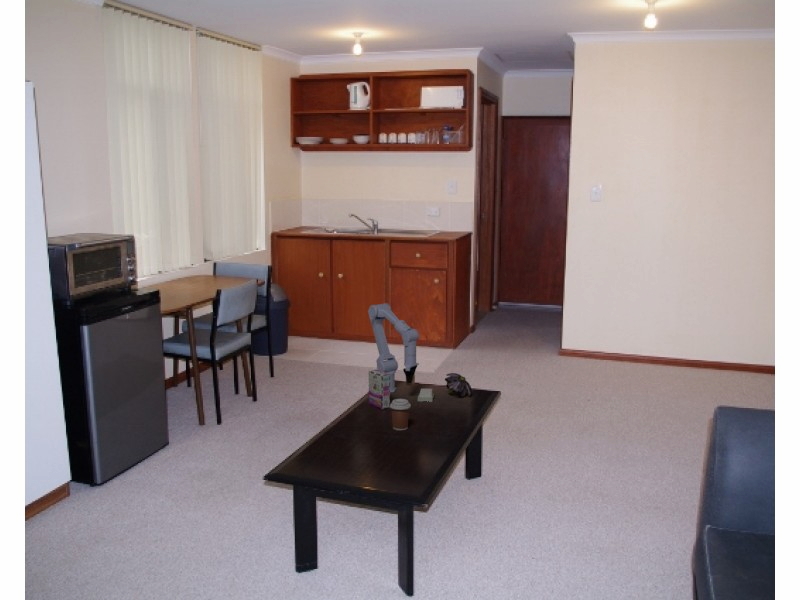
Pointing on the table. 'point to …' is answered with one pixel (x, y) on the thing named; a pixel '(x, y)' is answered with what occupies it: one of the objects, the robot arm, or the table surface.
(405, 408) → the coffee cup
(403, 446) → the table surface
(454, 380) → the decorative flower
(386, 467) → the table surface
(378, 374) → the candy bar box
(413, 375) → the terracotta cylinder
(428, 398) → the sage base block
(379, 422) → the table surface
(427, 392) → the off-white top block
